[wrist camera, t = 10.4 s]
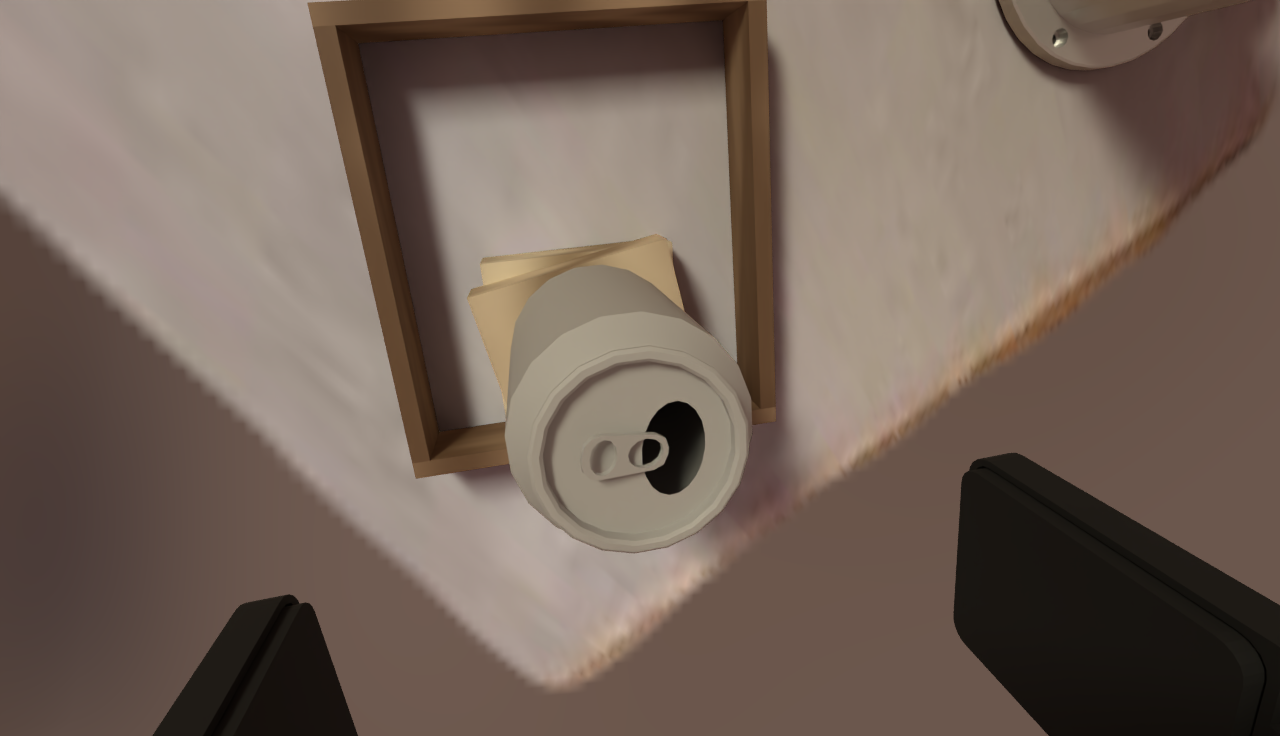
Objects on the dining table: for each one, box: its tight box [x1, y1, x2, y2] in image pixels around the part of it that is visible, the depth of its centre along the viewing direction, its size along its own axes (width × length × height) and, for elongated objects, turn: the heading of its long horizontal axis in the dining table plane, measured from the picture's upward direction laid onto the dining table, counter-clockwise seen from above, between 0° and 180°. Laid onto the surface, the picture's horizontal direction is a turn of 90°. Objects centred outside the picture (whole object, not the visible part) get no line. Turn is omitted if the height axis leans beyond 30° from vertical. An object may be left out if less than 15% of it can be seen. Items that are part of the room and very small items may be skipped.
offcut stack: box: [467, 234, 685, 414], centre depth 30 cm, size 10×9×4 cm
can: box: [505, 265, 752, 553], centre depth 23 cm, size 8×8×12 cm
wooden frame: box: [308, 0, 776, 479], centre depth 29 cm, size 18×20×4 cm
